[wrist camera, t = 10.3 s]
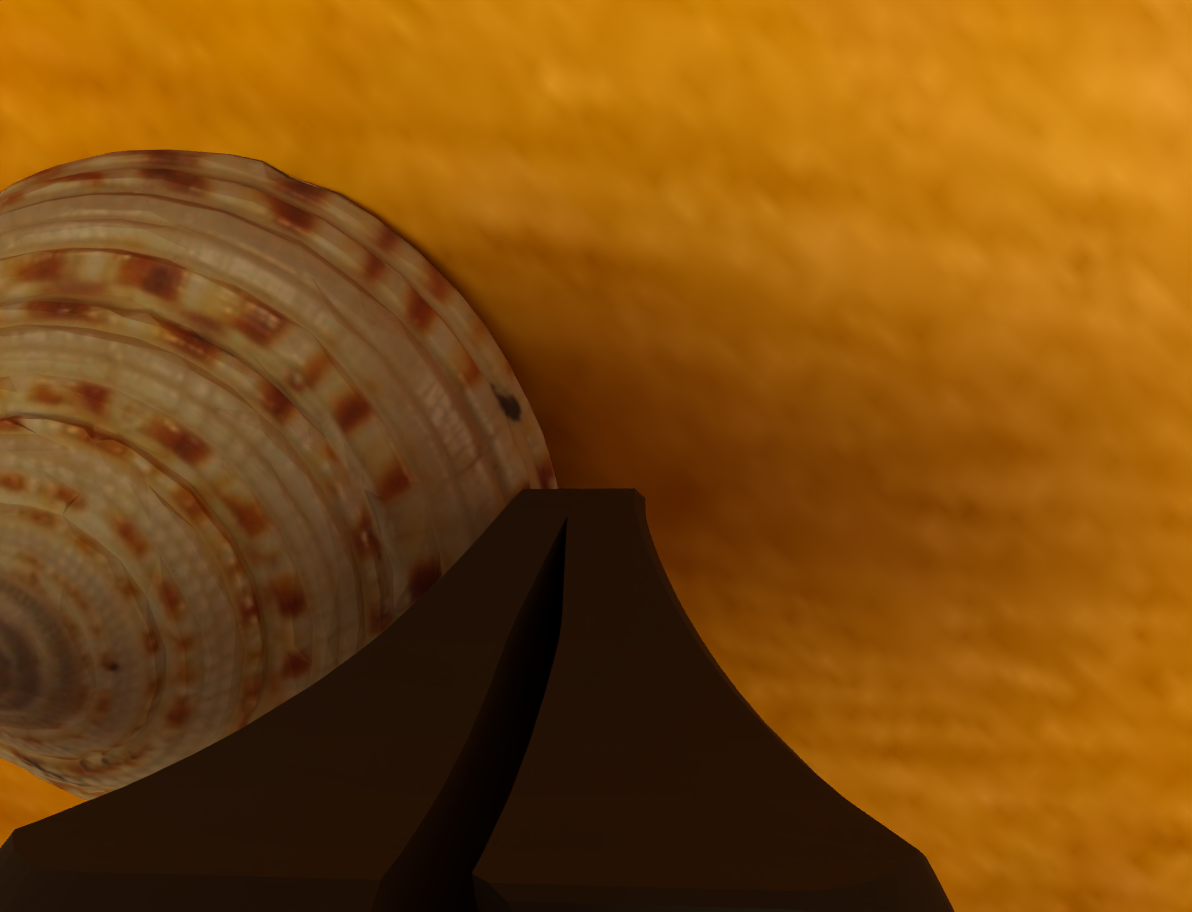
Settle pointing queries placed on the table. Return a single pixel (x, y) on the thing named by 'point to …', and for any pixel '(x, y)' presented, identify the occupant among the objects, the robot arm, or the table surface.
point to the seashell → (221, 451)
